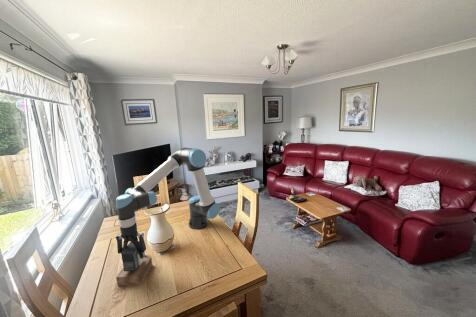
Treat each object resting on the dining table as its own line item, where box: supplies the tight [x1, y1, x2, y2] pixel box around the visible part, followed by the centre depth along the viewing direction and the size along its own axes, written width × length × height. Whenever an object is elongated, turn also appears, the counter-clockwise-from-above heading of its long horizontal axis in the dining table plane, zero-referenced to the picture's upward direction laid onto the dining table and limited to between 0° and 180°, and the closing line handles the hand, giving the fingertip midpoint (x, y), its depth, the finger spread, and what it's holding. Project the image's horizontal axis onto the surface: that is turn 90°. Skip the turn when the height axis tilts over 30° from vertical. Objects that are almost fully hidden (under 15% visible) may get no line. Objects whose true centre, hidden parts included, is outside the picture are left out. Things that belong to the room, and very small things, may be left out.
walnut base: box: [115, 256, 153, 287], centre depth 108 cm, size 12×14×5 cm
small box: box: [120, 241, 145, 271], centre depth 106 cm, size 11×6×10 cm, turn 4°
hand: (134, 263), depth 107 cm, fingers closed on small box, 6 cm apart
